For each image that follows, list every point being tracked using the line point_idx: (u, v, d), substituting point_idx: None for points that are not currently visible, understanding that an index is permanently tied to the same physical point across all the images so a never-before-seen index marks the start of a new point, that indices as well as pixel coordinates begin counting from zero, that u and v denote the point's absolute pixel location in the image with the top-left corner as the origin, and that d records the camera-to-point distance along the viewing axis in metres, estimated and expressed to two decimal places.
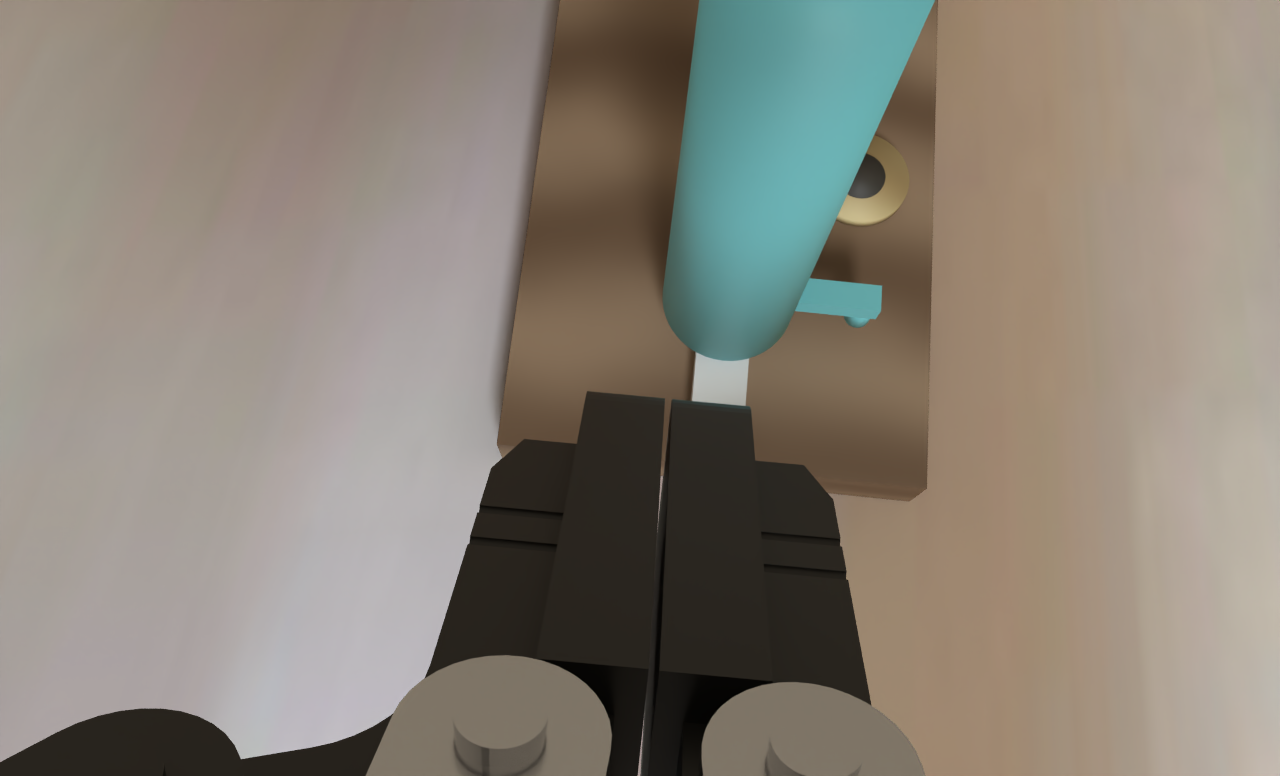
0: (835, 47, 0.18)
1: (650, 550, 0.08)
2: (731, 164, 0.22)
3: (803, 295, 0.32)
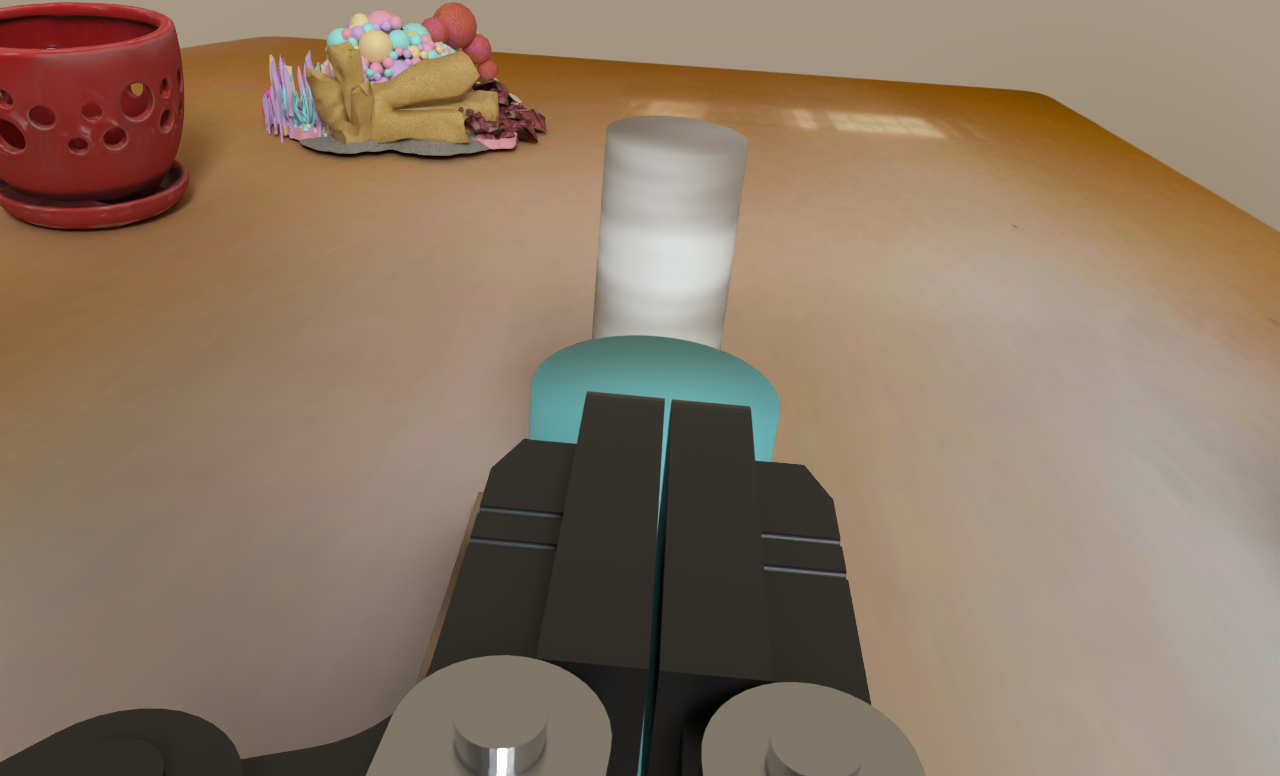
0: (664, 462, 0.16)
1: (650, 552, 0.08)
2: None
3: None
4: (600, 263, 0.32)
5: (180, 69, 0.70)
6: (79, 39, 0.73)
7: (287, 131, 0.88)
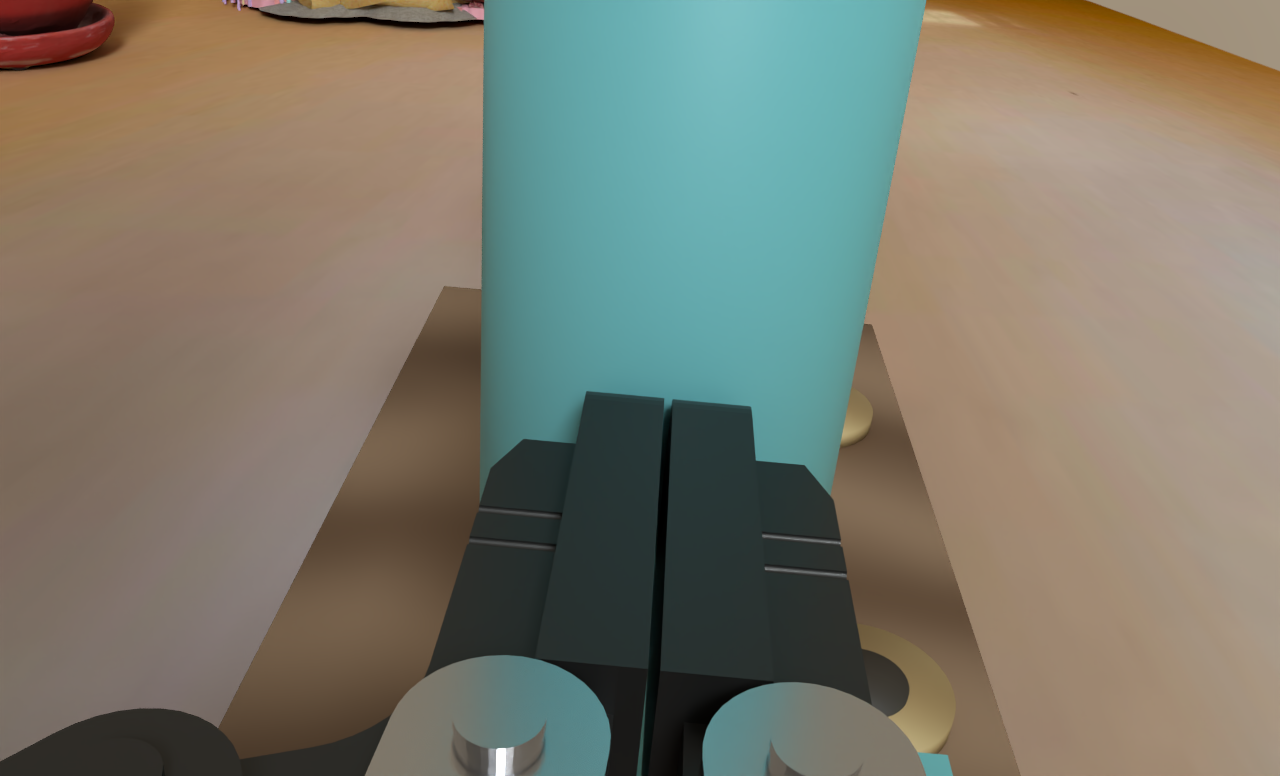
0: None
1: (648, 552, 0.08)
2: None
3: None
4: None
5: None
6: None
7: (245, 0, 0.77)
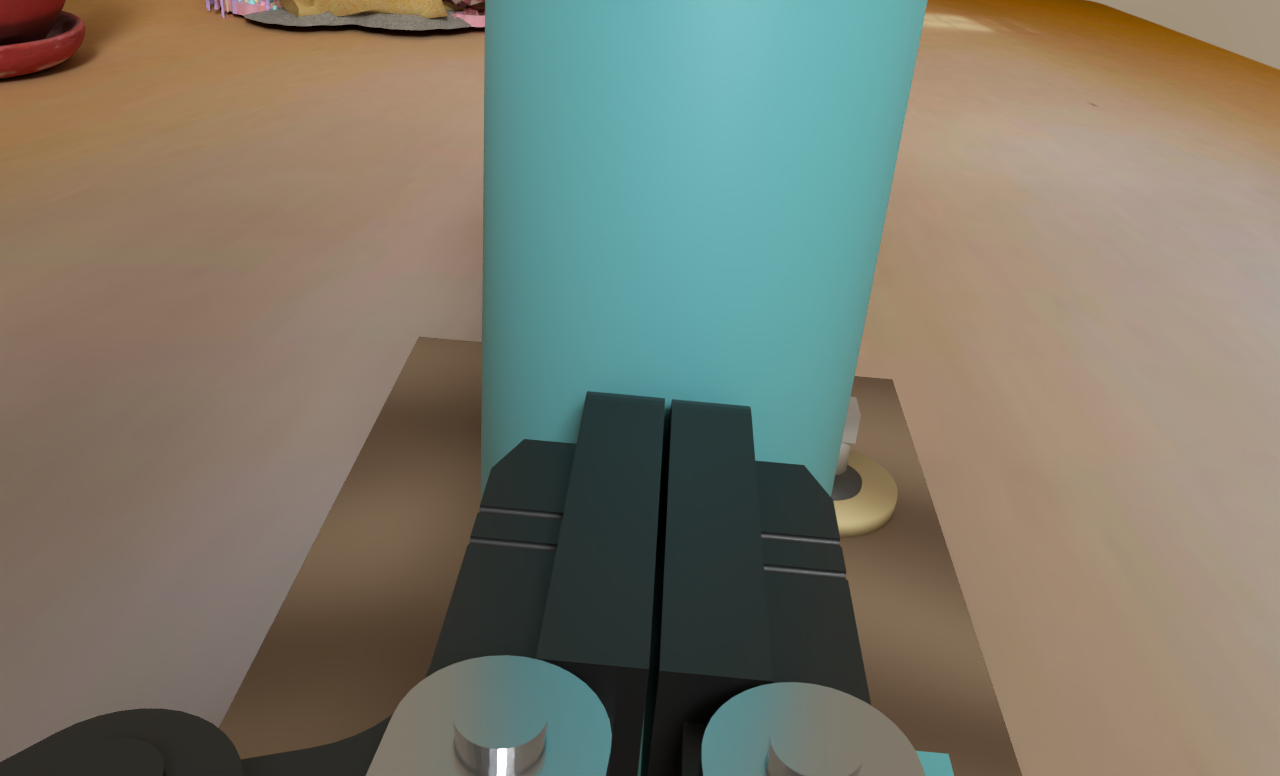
0: None
1: (650, 550, 0.08)
2: None
3: None
4: None
5: None
6: None
7: (230, 6, 0.74)
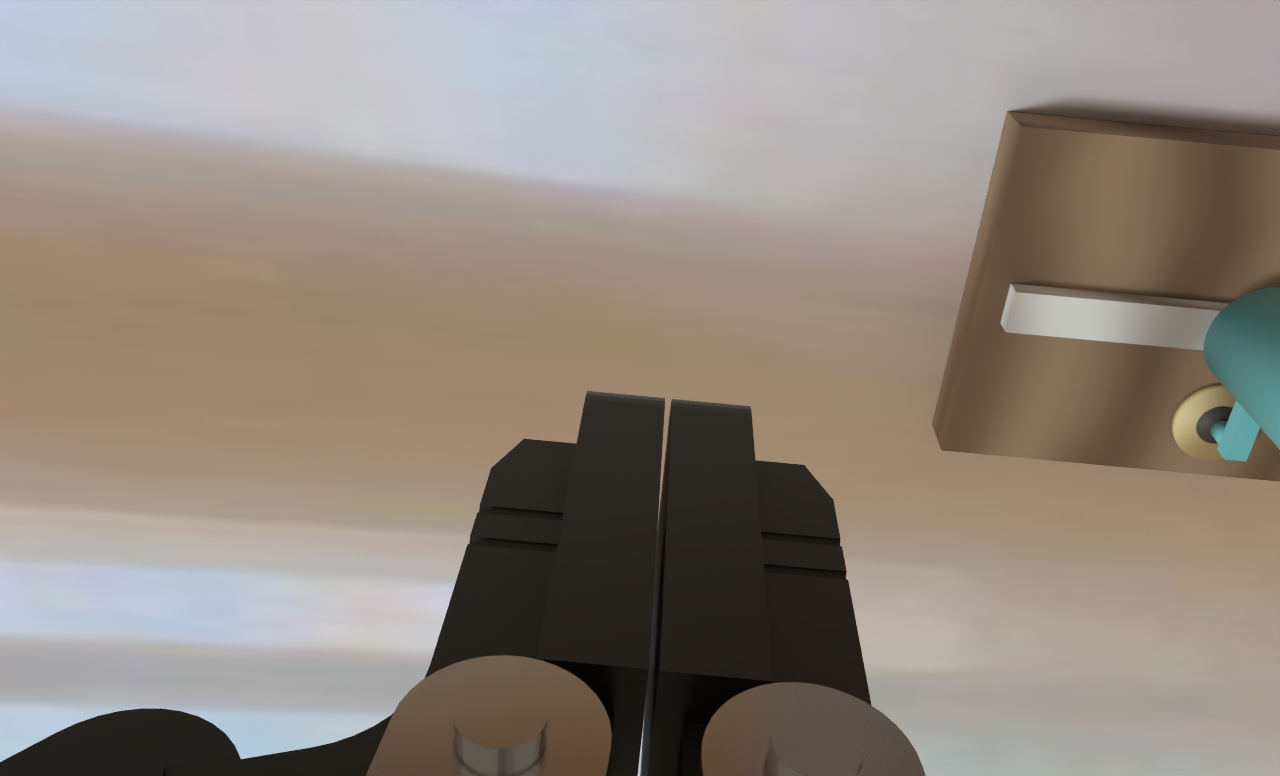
0: None
1: (648, 550, 0.08)
2: None
3: None
4: None
5: None
6: None
7: None
